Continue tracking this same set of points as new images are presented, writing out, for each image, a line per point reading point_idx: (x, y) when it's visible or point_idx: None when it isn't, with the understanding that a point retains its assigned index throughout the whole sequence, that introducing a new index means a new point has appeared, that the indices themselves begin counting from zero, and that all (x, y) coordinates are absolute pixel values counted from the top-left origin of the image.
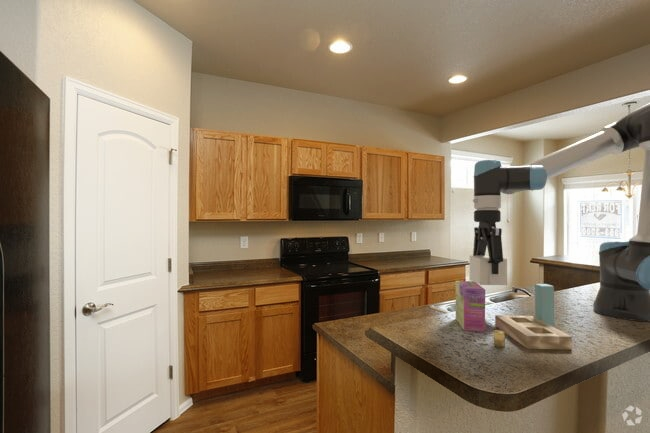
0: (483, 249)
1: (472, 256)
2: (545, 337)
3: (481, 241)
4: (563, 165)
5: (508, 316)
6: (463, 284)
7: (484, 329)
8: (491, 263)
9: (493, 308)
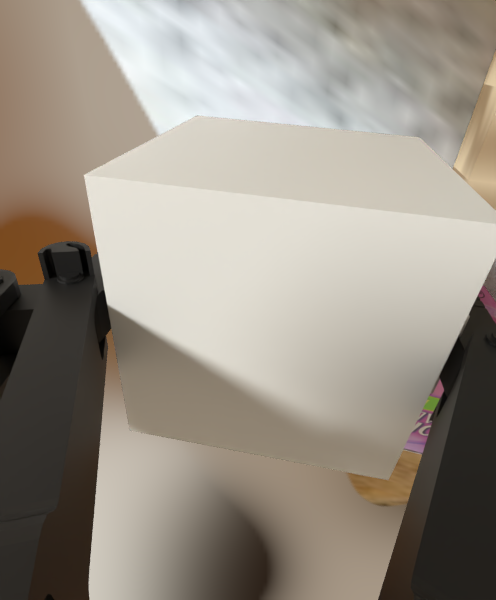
0: (87, 385)
1: (205, 444)
2: None
3: (82, 568)
4: None
5: (489, 174)
6: (424, 443)
7: (487, 291)
8: (440, 377)
9: (166, 47)
